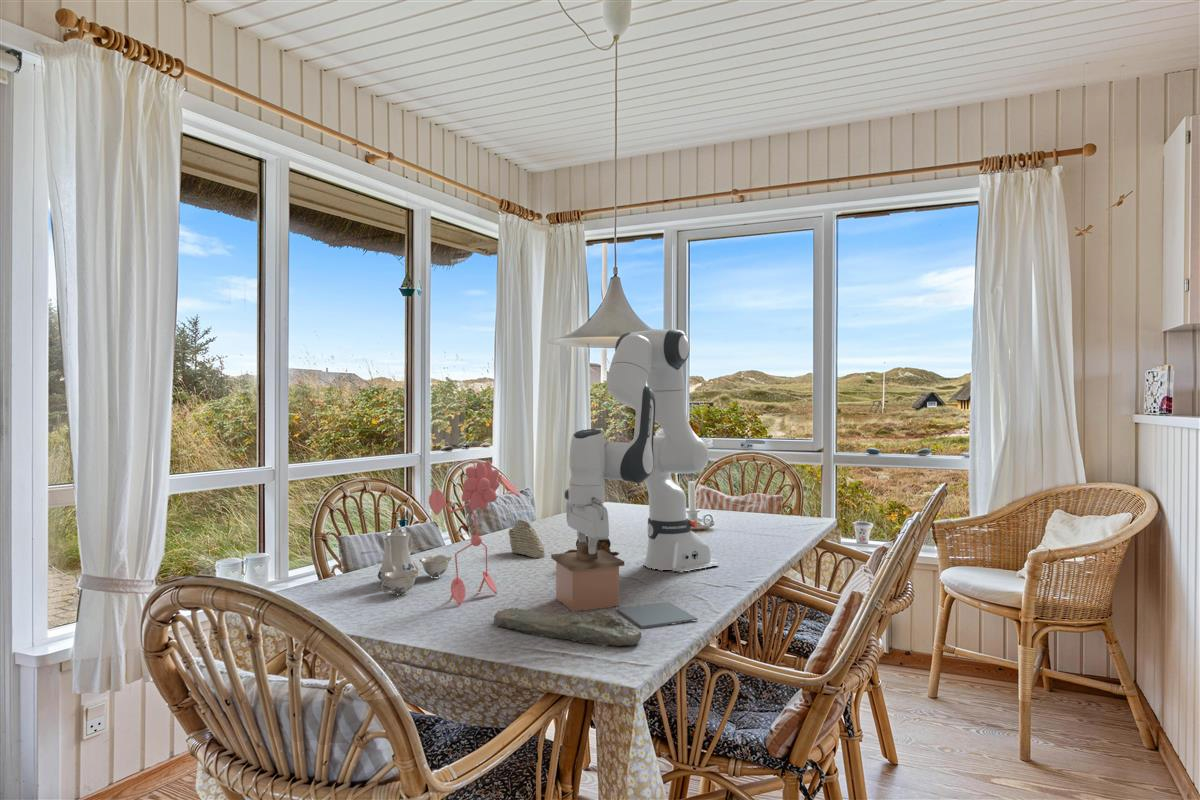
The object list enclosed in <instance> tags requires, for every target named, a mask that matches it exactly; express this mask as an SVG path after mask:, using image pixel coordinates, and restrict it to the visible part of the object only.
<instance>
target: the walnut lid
mask: <svg viewBox="0 0 1200 800" xmlns="http://www.w3.org/2000/svg"><path fill="white" fill-rule="evenodd" d="M587 546H588V542H580V543H577V546H576V550H577V552H571V553H564V552H561V553H552V554H551V555H550V559H552V560H553V561H555V562H558V563H559V564H561V565H562V566H563V567H565V568H566V569H568V570H569V571H575V570H585V569H595V568H606V567H616V566H619V567H624V566H625V561H624V560H622V559H620V558H618V557H616V556H613V555H611V554H609V553H608V552H606V551H604V550H598V545H596V553H595V554H589V553H587Z"/></svg>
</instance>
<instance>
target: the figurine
mask: <svg viewBox="0 0 1200 800" xmlns="http://www.w3.org/2000/svg"><path fill="white" fill-rule="evenodd" d="M492 467H493V466H492V462H491V461H490V460H488V459H487V460H486V461H485V462H484V463H483V462H481V461H478V462H477V463H476V467H474V466H468V467H466V469H465V474H466V477H467V479H466V480H465V481H464V482H463V483H462V489H464V490H463V492H462V495H461V501H462V502H468V501H469V502H468V503H466V504H463V505H462V506H460V507H457V508H454V509H453V510H452V509H451V507H449V505H448V503H447V502H446V497H445V496H444V493H443V492H442V490H439V489H438V487H437V488H435V489H434V490H432V491H431V493H430V495H429V496H428V497H429V498H428V504H429V507H430V509H431V510H432V512H433V513H434V514H435V515H436V516H437V515H439V514H440V513H441V512H442V511H443V509H444V508H445V507H446V509H447V510H448V512H449V513H450V514H453V513H455V512H458V511H460V510H462V509H464V508H466V507H470V510H471V513H472V515H473V516H472V517H473V520H474V527H475V535H473V536H472V537H471V538H470V544H469V545H466V546H465V547H464V548H462V549H460V550H458V551H457V552H454V563H455V573H456V575H455V576H456V577H455V578H453V579H452V580H451V581H452V582H451V584H450V592H451V596H450V598H449V601H450V600H454V601H455V602H456V604H457V605H458V606H461V605H462V604H463V601H464V600H465V598H466V593H467V592H466V585H465V584H464V582H463V580H462V579H461V578H460V577H459V571H458V570H459V569H458V558H457V555H458V554H459V553H461V552H462V551H464V550H466V549H468V548H470V547H471V546H473V547H479V546H480V545H481V544H482V546H484V548H485V570H483V572H482V576H483V578H482V581H481V583H480V586H479V588H478V591H477V593H478V592H480V593H481V591H482V588H483V586H484V584H485V583H486V586H488V588H489V589H490V590H491V591H492V592H493V593H495V594H496V595H498V590H497V586H496V584H495V581H494V580H493V578H492V576H491V574H489V573H488V547H487V545H486V544H485V543H484V542H483V540H482V537H481V536H480V535H479V531H478V524H477V523H478V522H477V516H476V513H475V511H476V510H477V509H478V508H479V509H481V510H484V511H485V510H486V509H487V507H488V505H489V503H493V502H494V503H495V502H496V501H497V499H498V495H497V493H496V491H497V490H498V488H499V487H500V482H501V483H502V484H503V486H504V487H505V488H506V489H508V491H510V493H512V494H513V495H515V496H517V497H521V494H520V493H519V491H518V489H517V488H516V487H515V485H514V484H513V483H512V482H511V481H510V480H508V479H507V478H506V477H504V476H501V475H500V471H499V469H494V470H492V469H493V468H492ZM444 506H445V507H444ZM515 601H518V599H515ZM428 604H429V605H431V606H432V604H431V603H429V602H428Z"/></svg>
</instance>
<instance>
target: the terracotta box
mask: <svg viewBox="0 0 1200 800" xmlns="http://www.w3.org/2000/svg"><path fill="white" fill-rule="evenodd" d="M555 562H556V561H555ZM555 566H556V567H555V569H556V570H555V571H556V574H555V577H556V579H555V581H556V585H555V592H556V593H555V596H556V597H555V599H556V598H557V600H558V601H559V602H560V603H561V602H562V603H563V604H562V605H564V606H565V607H566V606H567V607H568V608H569V609H568V608H567V607H566V608H567V609H568V610H570V611H571V612H572V611H575V612H582V611H581V610H583V611H591V610H590V609H592V610H599V609H598V608H600V609H606V608H607V607H608V608H614V607H613V606H616V607H619V606H620V566H616V567H606V568H595V569H585V570H575V571H569V570H568V569H566V568H565V567H563V566H562V565H561V564H559V563H558V562H556V565H555ZM608 608H607V609H608Z"/></svg>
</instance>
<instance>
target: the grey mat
mask: <svg viewBox="0 0 1200 800" xmlns="http://www.w3.org/2000/svg"><path fill="white" fill-rule="evenodd" d="M615 609H616V610H617V611H616V612H617V613H619V614H620V613H621V615H622V616H623V615H624V616H623V617H624V618H626V619H627V618H628V619H627V620H629V621H630V620H631V622H632V623H633V622H634V623H635V625H636V624H637V625H638V626H637V625H636V626H637V627H639V628H640V627H641V628H640V629H647V628H646V627H650V628H655V627H654V626H657V627H661V626H660V625H665V626H667V625H666V624H672V623H679V622H685V621H692V620H697V621H698V617H696V616H694V615H692V614H691V613H689V612H687V611H685V610H684V609H682V608H680V607H679V606H677V605H676V604H673V603H672V602H669V601H665V602H656V603H648V604H639V605H630V606H623V607H622V606H621V607H616V608H615ZM634 623H633V624H634ZM679 624H680V623H679ZM672 625H673V624H672Z"/></svg>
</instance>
